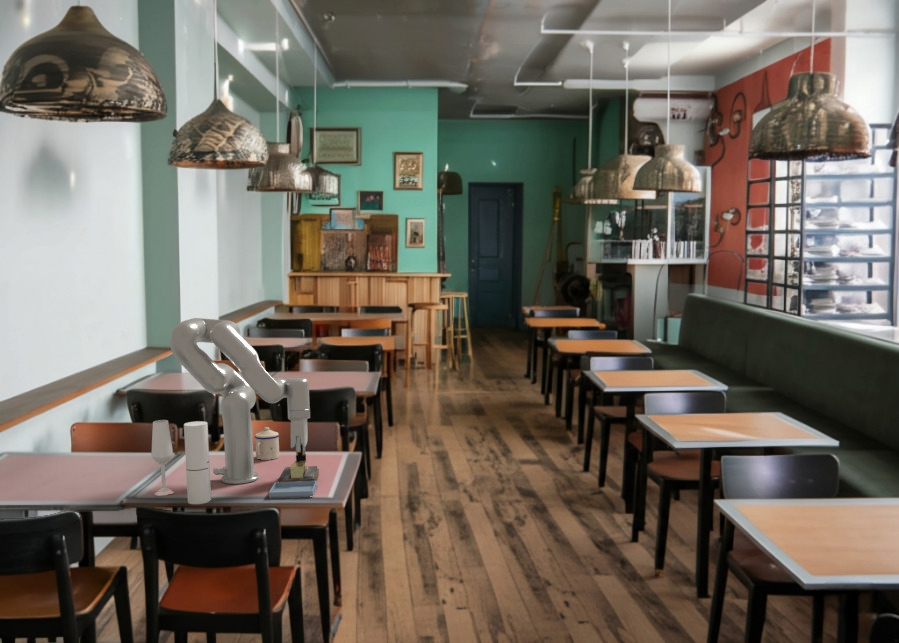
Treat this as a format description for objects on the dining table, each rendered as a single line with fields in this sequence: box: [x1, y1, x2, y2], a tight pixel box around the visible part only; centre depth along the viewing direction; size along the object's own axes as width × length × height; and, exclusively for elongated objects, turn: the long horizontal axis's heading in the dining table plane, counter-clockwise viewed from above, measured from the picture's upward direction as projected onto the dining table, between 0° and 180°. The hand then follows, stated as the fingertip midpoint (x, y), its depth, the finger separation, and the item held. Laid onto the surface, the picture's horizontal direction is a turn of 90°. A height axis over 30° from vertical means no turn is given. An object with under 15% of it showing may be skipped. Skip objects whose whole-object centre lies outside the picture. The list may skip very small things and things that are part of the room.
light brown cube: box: [292, 460, 308, 475], centre depth 293 cm, size 4×4×4 cm
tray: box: [268, 480, 318, 499], centre depth 280 cm, size 14×12×2 cm
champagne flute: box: [151, 419, 174, 492], centre depth 282 cm, size 7×7×24 cm
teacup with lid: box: [254, 426, 280, 461], centre depth 325 cm, size 12×9×12 cm
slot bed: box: [277, 465, 320, 482], centre depth 293 cm, size 12×13×4 cm
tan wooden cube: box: [289, 463, 304, 479], centre depth 289 cm, size 4×4×4 cm
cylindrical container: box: [183, 420, 212, 505], centre depth 272 cm, size 7×7×25 cm
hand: (301, 465), depth 297 cm, fingers closed
